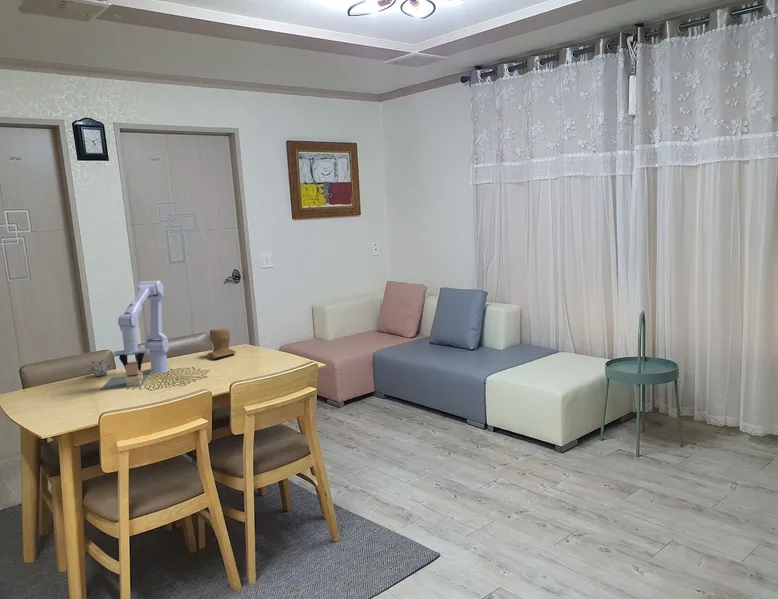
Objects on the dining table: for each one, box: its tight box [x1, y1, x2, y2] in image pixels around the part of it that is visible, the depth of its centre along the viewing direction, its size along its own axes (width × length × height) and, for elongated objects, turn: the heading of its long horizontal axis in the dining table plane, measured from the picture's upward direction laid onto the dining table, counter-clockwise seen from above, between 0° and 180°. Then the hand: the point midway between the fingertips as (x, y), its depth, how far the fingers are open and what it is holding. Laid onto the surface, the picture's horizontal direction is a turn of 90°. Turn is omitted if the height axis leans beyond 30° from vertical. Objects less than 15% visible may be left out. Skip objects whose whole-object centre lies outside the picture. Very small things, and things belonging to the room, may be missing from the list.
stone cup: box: [207, 327, 237, 360], centre depth 320 cm, size 15×12×15 cm
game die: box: [88, 359, 111, 378], centre depth 290 cm, size 9×8×10 cm
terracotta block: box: [124, 360, 142, 376], centre depth 272 cm, size 7×5×4 cm
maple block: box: [126, 372, 144, 386], centre depth 272 cm, size 7×6×4 cm
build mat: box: [98, 373, 151, 391], centre depth 277 cm, size 22×17×1 cm
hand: (133, 370), depth 272 cm, fingers closed on terracotta block, 5 cm apart
